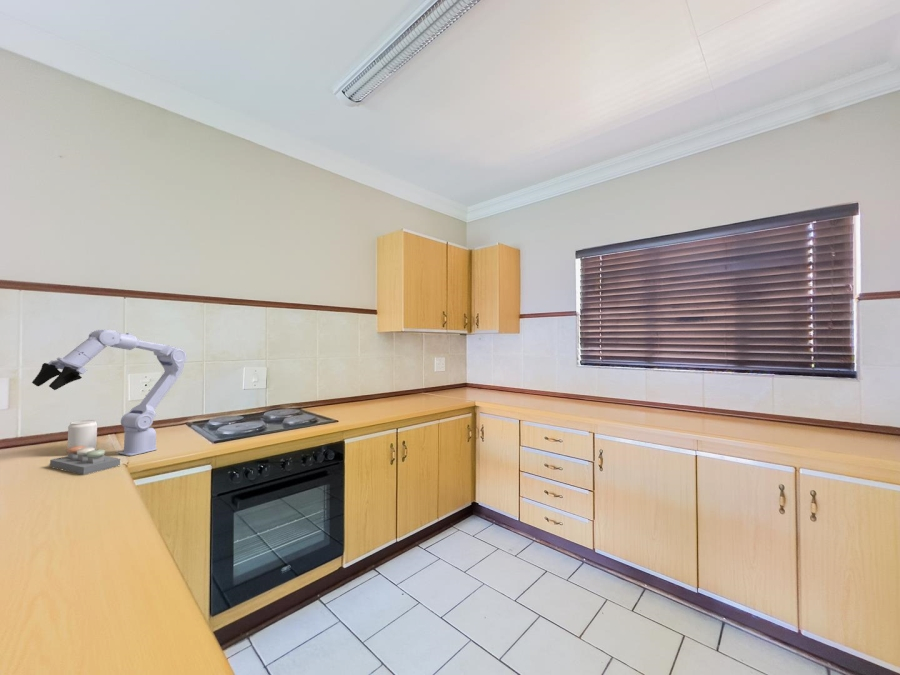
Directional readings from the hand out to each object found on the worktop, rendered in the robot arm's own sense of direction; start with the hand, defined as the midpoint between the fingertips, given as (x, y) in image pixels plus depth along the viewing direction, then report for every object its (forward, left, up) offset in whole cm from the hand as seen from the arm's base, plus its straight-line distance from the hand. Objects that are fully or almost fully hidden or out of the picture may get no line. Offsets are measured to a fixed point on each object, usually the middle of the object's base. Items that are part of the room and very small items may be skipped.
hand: (43, 386), depth 120 cm
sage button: (-10, +8, -27) cm, 30 cm away
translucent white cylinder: (-19, -20, -29) cm, 40 cm away
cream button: (-10, +2, -27) cm, 29 cm away
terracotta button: (-10, -4, -27) cm, 29 cm away
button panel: (-10, +2, -29) cm, 31 cm away
